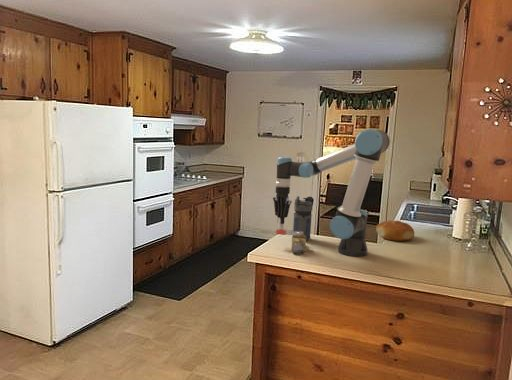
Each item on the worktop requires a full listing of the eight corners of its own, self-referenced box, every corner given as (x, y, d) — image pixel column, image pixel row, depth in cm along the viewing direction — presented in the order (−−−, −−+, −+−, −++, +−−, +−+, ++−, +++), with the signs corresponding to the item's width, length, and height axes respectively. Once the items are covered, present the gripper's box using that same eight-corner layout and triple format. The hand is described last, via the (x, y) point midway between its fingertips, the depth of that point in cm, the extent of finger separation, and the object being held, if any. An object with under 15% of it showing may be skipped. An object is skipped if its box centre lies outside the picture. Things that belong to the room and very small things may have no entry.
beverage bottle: (316, 239, 241) (319, 196, 238) (300, 242, 233) (303, 198, 229) (303, 235, 249) (306, 194, 245) (287, 238, 240) (290, 195, 237)
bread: (368, 237, 253) (369, 220, 251) (384, 231, 271) (385, 216, 269) (405, 244, 238) (406, 227, 237) (419, 238, 256) (421, 222, 255)
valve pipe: (292, 245, 228) (293, 231, 227) (305, 246, 227) (306, 232, 226) (290, 255, 210) (291, 239, 209) (304, 256, 209) (305, 240, 208)
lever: (303, 234, 219) (303, 230, 219) (302, 236, 215) (303, 232, 215) (276, 232, 221) (277, 228, 221) (276, 234, 217) (276, 230, 217)
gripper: (269, 184, 224) (267, 227, 228) (285, 188, 214) (282, 232, 217) (280, 184, 229) (278, 226, 232) (296, 187, 218) (293, 231, 222)
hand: (280, 229), depth 225 cm, fingers closed
